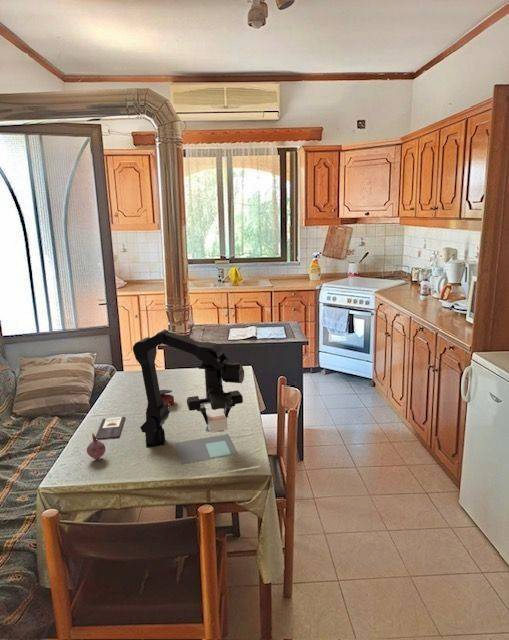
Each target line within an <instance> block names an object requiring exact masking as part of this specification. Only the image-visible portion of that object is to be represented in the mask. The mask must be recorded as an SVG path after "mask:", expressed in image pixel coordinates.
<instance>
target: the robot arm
mask: <svg viewBox="0 0 509 640" xmlns="http://www.w3.org/2000/svg"><path fill="white" fill-rule="evenodd" d="M160 345H165V346H168V347H171V348H173V349H177V350H180V351H183V352H185V353H187V354H190V355H193V356H195V358H197V359H198V361H201V362H202V363H201V364H200V365H199V366H198V369H199V370H204V379H205V380H204V382H205V383H204V384H205V397H204V398H199V395H195V396H189V397H187V398H186V405H187V408H188V410H189V411H197V412H200V413H201V415H202V416H203V419H204V421H205V424H206V426H207V425H208V419H207V414H206V411H207V409H206V405H209V404H210V408H211V410H216V409H221V408H222V410H223V412H224V414H225V416H226V418H227V419H228V418H229V417H228V416H229V414H230V411H231V408H233V407H235V406H236V405H240V404H243V403H244V399H243V398H244V397H243V394H242V393H241V392H240V391H239V390H233V391H232V390H231V391H228V392H226V391H224V388H223V387H224V386H223V382H225V383H229V384H230V383H234V384H243V382H244V380H245V370H244V367H243V365H242V362H230V360H229V358H228V356H226V354H225V352H224V351H223V348H222V346H221V345H220V344H218V343H215V342H211V341H210V342H209V341H208V342H207V341H197V340H194V339H191V338H188V337H186V336H183V335H180V334H176V333H173V332H171V331H169V330H167V329H163V330H161V331H159V332H157V333H156V334H155V335H153V336H152V337H149V336H147V337H144V338H143V339H142V338H141V339H140V340H138V341H136V342H135V343H134V344H133V346H132V353H133V355H134V358H135V361H137V362H138V364H139V365H140V367H141V368H140V369H141V372H142V378H143V379H142V380H143V383H144V389H145V394H146V400H147V406H146V411H145V422H144V423H143V424H142V425H140V427H139V428H140V430H141V432H142V433H145V436H144V437H145V447H146V448H153V447H159V446H164V445H165V442H166V433H165V432H166V431H165V428H163V425H165V422H166V421H167V420H168V418H169V414H171V412H170V409H169V408H168V403H165V404H164V402H163V401H162V400H161V396H160V385H159V379H158V375H157V367H156V363H155V362H156V358H157V347H159V346H160Z"/></svg>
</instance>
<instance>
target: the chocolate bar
mask: <svg viewBox="0 0 509 640" xmlns="http://www.w3.org/2000/svg"><path fill="white" fill-rule="evenodd" d="M124 420H126V416H118V417H108V418H102V420H101V422H100V424H99V428H98V430H97V433H96V435H95V437H96V439H102V440H108V439H107V438H112V439H119V438H120V437H121V434H122V431H123V430H122V429H123V427H124V424H125V421H124ZM123 423H124V424H123ZM121 430H122V431H121Z"/></svg>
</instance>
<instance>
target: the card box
mask: <svg viewBox="0 0 509 640" xmlns="http://www.w3.org/2000/svg"><path fill="white" fill-rule="evenodd" d="M206 414H207V419H208V425H207V424H206V427H207V426H208V428H209V430H210V432H209V433H214V431H221V430H224V431H226V430H228V417H227V418H226V416H225V414H224V409H222V408H221V409H216V410H213V409H208V410H207V409H206Z"/></svg>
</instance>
